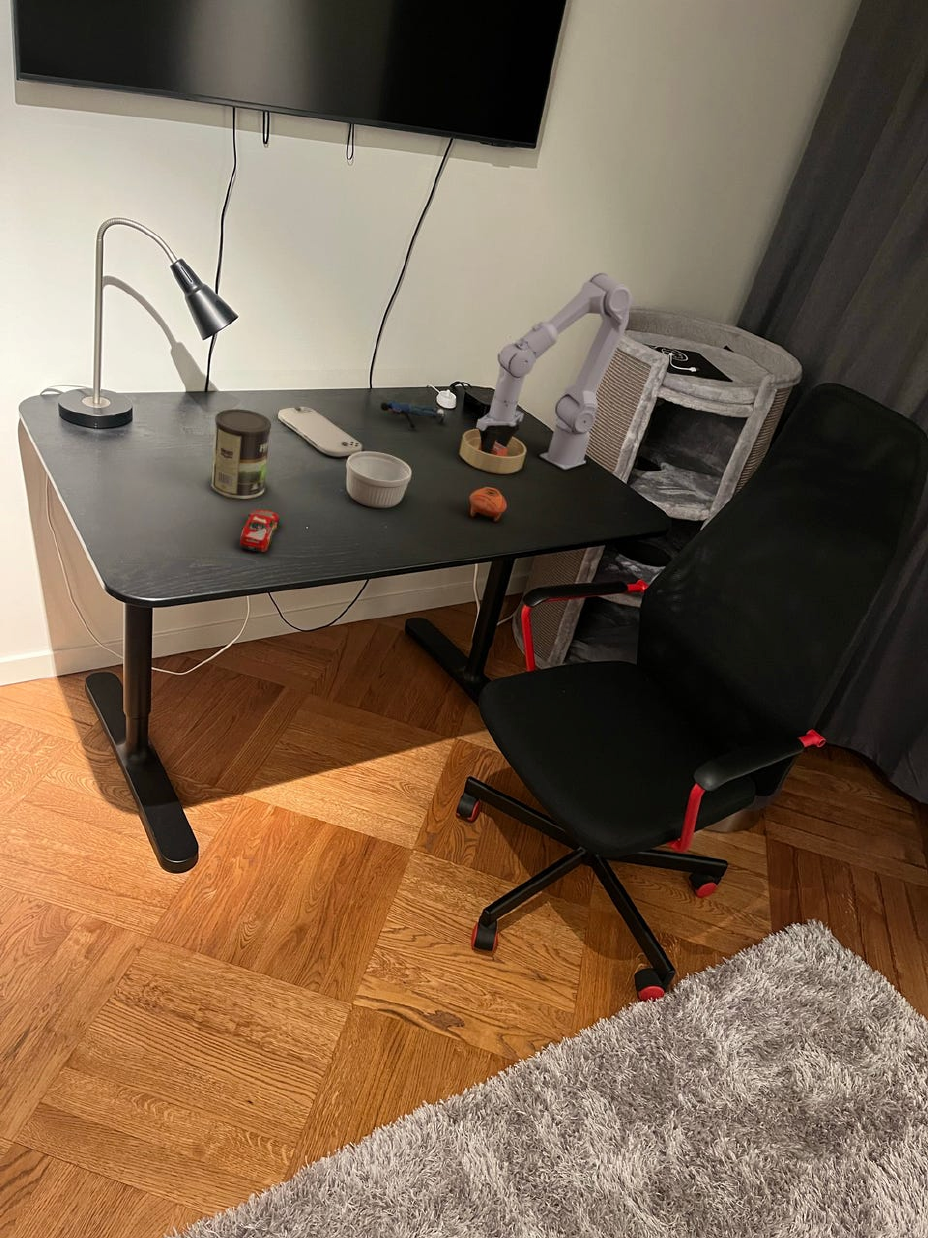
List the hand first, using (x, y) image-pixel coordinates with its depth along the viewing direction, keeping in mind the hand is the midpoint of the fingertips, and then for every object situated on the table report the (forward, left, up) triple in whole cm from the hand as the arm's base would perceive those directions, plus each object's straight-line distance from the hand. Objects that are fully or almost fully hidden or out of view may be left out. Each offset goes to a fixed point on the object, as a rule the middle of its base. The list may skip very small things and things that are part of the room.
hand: (492, 452), depth 215 cm
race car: (+70, +3, -2) cm, 70 cm away
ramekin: (+39, +1, -2) cm, 39 cm away
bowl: (0, 0, -2) cm, 2 cm away
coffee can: (+62, -14, -2) cm, 64 cm away
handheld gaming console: (+31, -26, -2) cm, 41 cm away
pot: (+23, +18, -2) cm, 29 cm away
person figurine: (+3, -24, -2) cm, 24 cm away
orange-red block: (0, 0, -1) cm, 1 cm away
